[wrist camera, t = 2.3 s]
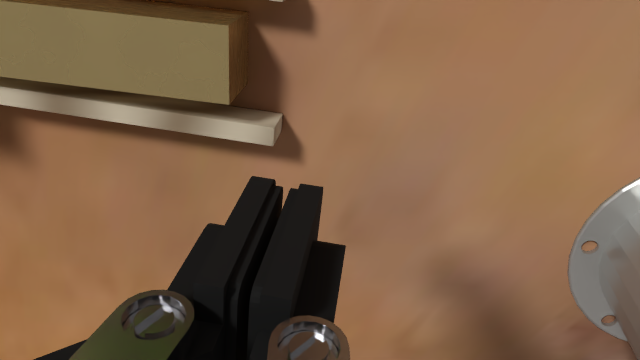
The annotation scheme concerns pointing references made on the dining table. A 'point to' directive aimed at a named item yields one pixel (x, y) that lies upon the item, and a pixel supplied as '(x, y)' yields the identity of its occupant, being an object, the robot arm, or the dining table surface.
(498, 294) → the dining table surface
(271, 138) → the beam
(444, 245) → the dining table surface
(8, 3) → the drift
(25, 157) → the dining table surface
